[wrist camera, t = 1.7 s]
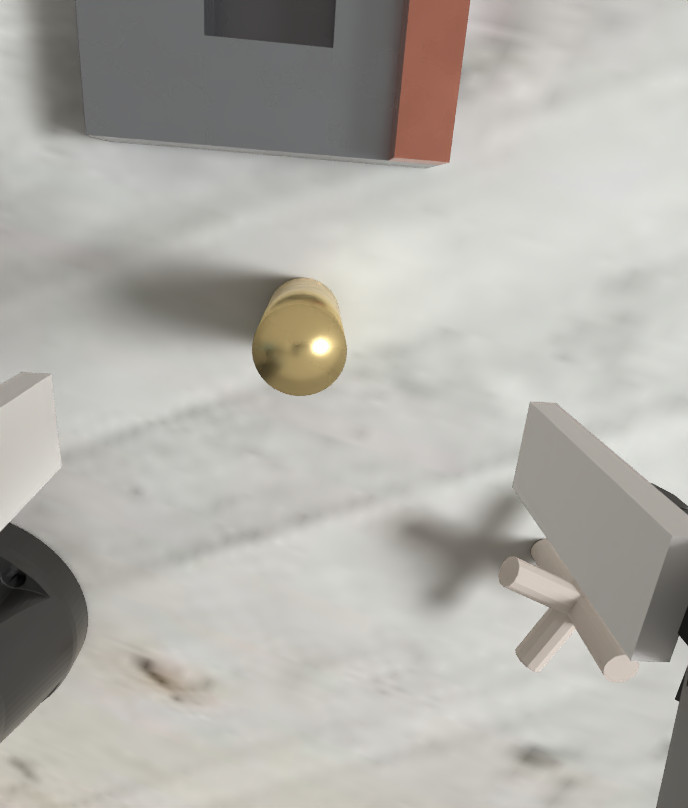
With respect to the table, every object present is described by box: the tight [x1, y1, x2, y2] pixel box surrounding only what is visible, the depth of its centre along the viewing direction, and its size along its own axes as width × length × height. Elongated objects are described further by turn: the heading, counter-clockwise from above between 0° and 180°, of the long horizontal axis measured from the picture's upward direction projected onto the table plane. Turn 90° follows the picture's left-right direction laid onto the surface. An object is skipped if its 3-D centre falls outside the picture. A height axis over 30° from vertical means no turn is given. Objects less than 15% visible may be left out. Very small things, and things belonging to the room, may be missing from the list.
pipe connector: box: [499, 539, 639, 682], centre depth 32 cm, size 10×10×10 cm
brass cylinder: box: [252, 278, 347, 396], centre depth 27 cm, size 4×4×8 cm
